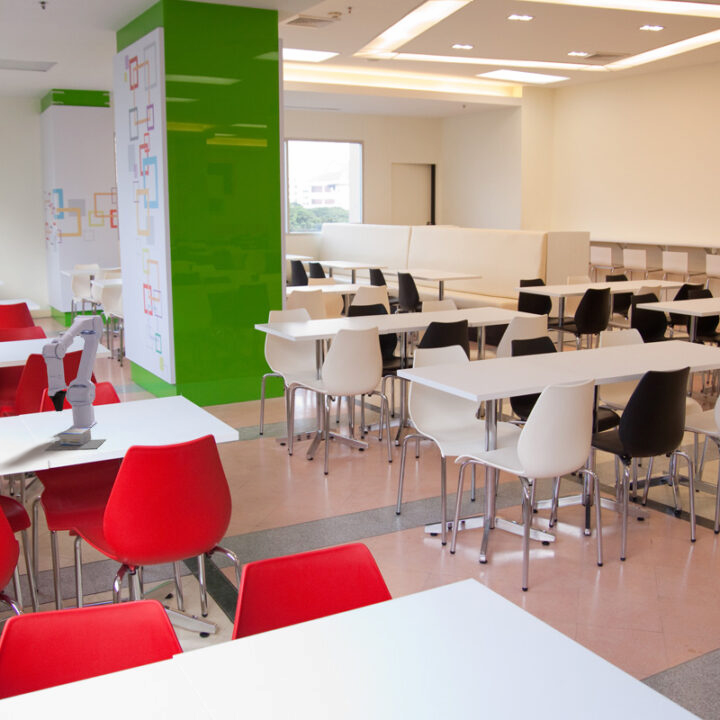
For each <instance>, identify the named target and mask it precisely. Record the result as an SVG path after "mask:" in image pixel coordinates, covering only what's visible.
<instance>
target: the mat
mask: <svg viewBox="0 0 720 720" xmlns="http://www.w3.org/2000/svg"><path fill="white" fill-rule="evenodd" d="M105 440H107V439H106V438H102V439H100V438H99V439H91V440H89V441H88V442H86V443H85V444H83V445H61V441H60V440H56V441H54V442H53V443H52V444H51V445H49V446H48V447H47V448H45V449H44V451H46V452H49V450H53V451H70V450H69V449H72V450H73V451H76V449H81V450H97V449H98V448H99V447H101V446H102V445H103V444H104V443H105V442H106V441H105ZM104 441H105V442H104ZM72 450H71V451H72Z"/></svg>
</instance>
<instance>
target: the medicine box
mask: <svg viewBox="0 0 720 720" xmlns="http://www.w3.org/2000/svg"><path fill="white" fill-rule="evenodd" d="M59 438H60V440H59V441H61V445H83V444H85V443H86V442H88V441H89V440H92V433H91V428H70V427H69V428H68V429H66V430H64V431H62V432H61V433H59Z"/></svg>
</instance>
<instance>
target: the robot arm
mask: <svg viewBox="0 0 720 720" xmlns="http://www.w3.org/2000/svg"><path fill="white" fill-rule="evenodd" d="M72 320H73V323H72V324H71V325H70V327H69V328H68V329H67V330H66V331H61V332H59V333H58V335H57V336H56V337H55V338H54V339H53V340H52V341H50V343H49V342H47V343H45V344H44V345H43V346H42V351H41V354H42V355H41V356H42V358H44V363H45V364H46V373H47V383H48V388H47V396H48V397H49V399H50V400H51V402H52V404H53V407H54V411H55V412H63V410H64V405H65V404H64V402H65V398H66V401H67V402H68V403H69V405H70V406H71V410H72V411H71V412H72V421H73V422H72V423H73V424H72V425H71V426H70V427H69V428H90V429H91V428H92V427H93V426H95V425H96V424H97V423H98V420H95V408H94V405H93V402H94V401H95V399H96V388H97V387H96V385H95V384H94V382H92V381H91V379H92V376H93V371H94V366H95V362H96V357H97V352H98V349H99V348H98V347H99V344H100V339H101V338H102V336H103V331H104V328H105V327H104V326H105V324H104V320H103V318H102V316H101V315H99V314H96V315H80V314H78V315H76V316H75V317H74V318H73V319H72ZM78 335H79V336H80V338H81V339H83V340H84V344H83V348H82V352H81V357H80V362H79V366H78V370H77V373H76V378H74V379H73V380H72V381H70V383H69V385H67V382H65V381H66V380H65V370H64V369H65V368H64V359H63V358H65V356H66V352H67V350H68V349H69V348H70V347H71V346H72V344H73V343H74V342H75V341H74V338H76V337H77V336H78Z"/></svg>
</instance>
